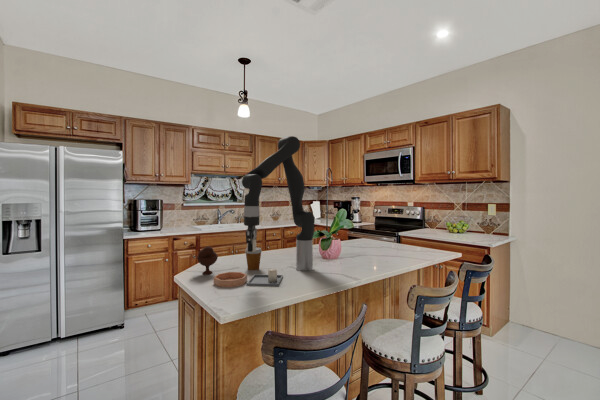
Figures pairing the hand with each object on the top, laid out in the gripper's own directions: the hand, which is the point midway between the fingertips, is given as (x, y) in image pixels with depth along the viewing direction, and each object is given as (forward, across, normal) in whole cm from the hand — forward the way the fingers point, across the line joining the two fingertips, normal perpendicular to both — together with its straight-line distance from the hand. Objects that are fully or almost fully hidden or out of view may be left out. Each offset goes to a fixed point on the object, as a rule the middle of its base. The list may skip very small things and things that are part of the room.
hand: (251, 250), depth 144 cm
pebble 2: (+15, -2, +10) cm, 18 cm away
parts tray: (+16, -2, +7) cm, 17 cm away
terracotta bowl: (+16, +1, -10) cm, 19 cm away
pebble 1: (0, 0, 0) cm, 0 cm away
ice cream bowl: (+16, -15, -28) cm, 35 cm away
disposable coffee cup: (+16, -25, -4) cm, 30 cm away
